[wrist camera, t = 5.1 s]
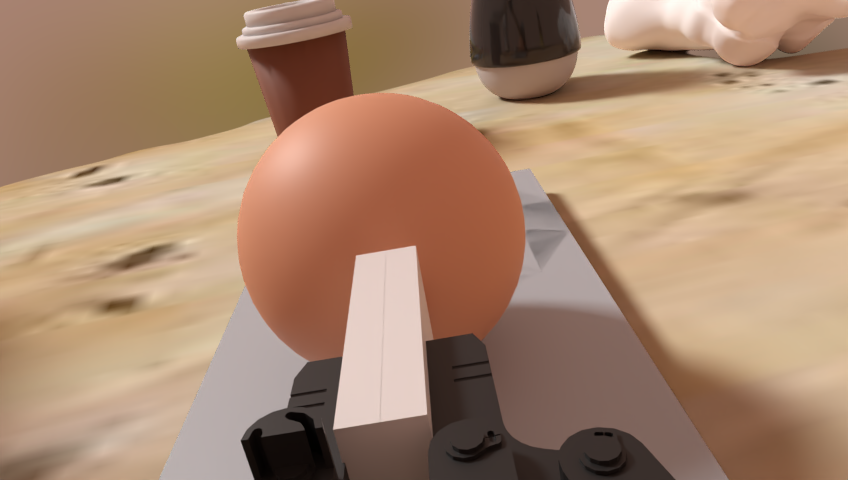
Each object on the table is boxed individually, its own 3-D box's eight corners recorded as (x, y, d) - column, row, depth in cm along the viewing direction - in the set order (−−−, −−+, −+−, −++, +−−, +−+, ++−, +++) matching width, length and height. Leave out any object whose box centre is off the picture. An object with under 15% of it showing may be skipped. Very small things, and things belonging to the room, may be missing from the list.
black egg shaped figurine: (460, 111, 62) (434, -68, 56) (494, 84, 70) (475, -73, 64) (570, 103, 57) (555, -91, 51) (592, 76, 66) (581, -94, 60)
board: (767, 594, 15) (771, 545, 14) (105, 698, 15) (80, 654, 14) (532, 192, 39) (529, 168, 39) (284, 235, 40) (277, 212, 39)
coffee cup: (303, 177, 50) (262, 13, 46) (251, 162, 57) (210, 18, 53) (398, 142, 55) (369, -10, 50) (339, 132, 62) (309, -3, 57)
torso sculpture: (584, 80, 72) (785, 83, 49) (572, -17, 68) (781, -60, 46) (713, 45, 77) (947, 33, 55) (708, -46, 74) (953, -98, 52)
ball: (216, 423, 21) (215, 185, 25) (470, 413, 24) (431, 207, 29) (281, 299, 14) (265, -1, 18) (623, 311, 18) (541, 59, 22)
